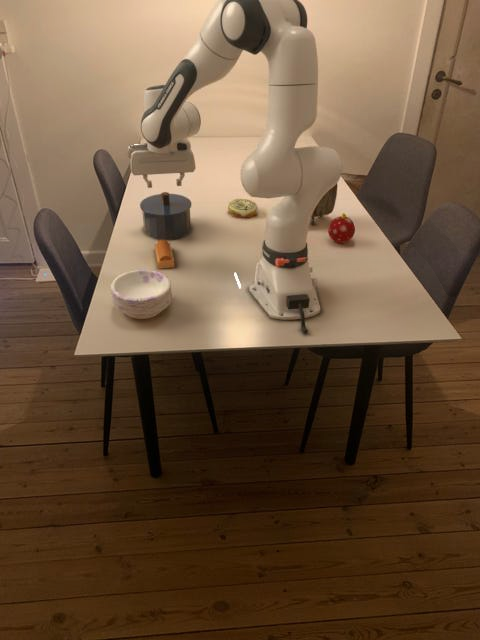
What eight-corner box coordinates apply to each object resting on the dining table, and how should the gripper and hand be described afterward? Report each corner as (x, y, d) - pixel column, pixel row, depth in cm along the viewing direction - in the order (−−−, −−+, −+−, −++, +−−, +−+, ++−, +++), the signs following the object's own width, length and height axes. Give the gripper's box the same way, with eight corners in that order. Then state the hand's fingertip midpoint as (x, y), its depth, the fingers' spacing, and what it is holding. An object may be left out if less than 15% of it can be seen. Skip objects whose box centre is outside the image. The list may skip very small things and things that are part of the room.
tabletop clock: (323, 214, 177) (333, 145, 162) (334, 225, 170) (345, 154, 155) (286, 219, 173) (292, 149, 158) (296, 230, 166) (304, 158, 151)
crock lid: (194, 216, 156) (194, 202, 153) (141, 220, 152) (140, 206, 150) (187, 195, 169) (187, 182, 166) (138, 198, 165) (137, 185, 163)
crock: (194, 237, 161) (193, 213, 156) (145, 241, 158) (143, 217, 153) (187, 217, 173) (186, 194, 168) (142, 220, 170) (140, 197, 165)
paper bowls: (174, 292, 135) (172, 268, 130) (170, 326, 123) (167, 300, 118) (119, 292, 134) (115, 267, 129) (109, 326, 122) (104, 300, 117)
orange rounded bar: (174, 267, 146) (173, 255, 143) (158, 268, 145) (157, 257, 142) (170, 249, 154) (169, 238, 152) (155, 250, 153) (154, 239, 151)
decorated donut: (246, 221, 171) (246, 211, 169) (222, 213, 176) (222, 204, 173) (262, 211, 178) (263, 202, 175) (238, 204, 183) (238, 194, 180)
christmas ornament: (333, 249, 157) (337, 220, 151) (322, 236, 163) (326, 209, 157) (357, 246, 159) (362, 217, 153) (345, 234, 165) (350, 206, 159)
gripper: (127, 147, 144) (132, 192, 152) (195, 144, 147) (196, 188, 156) (126, 140, 148) (131, 184, 157) (192, 138, 152) (194, 180, 161)
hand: (164, 186), depth 156 cm, fingers open, 8 cm apart
